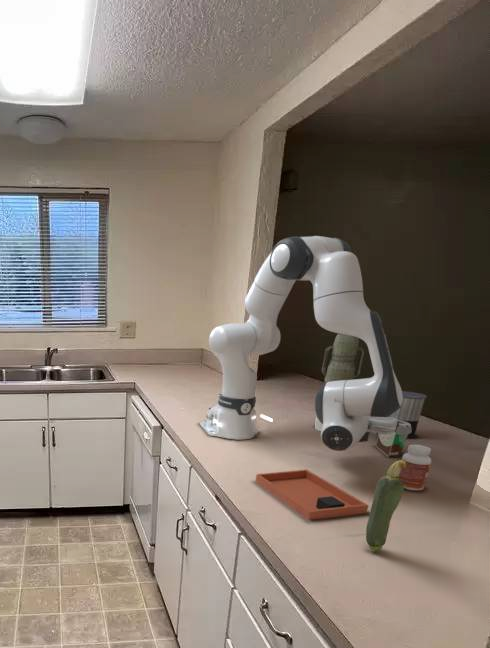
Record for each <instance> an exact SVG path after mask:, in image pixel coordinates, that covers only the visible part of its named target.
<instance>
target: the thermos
mask: <svg viewBox="0 0 490 648" xmlns="http://www.w3.org/2000/svg"><path fill="white" fill-rule="evenodd" d="M359 339H360V338H358V337H355V336H350V335H345V334H339V333H337V335H336V336H335V338H334V342H333V343H332V344H333V345H329V346H328V347H327V348H325V350H324V357H323V363H322V367H321V373H322V375H323V376H324V384H325V383H326V382H330V381H339V380H353V379H356V378H359V376H360V373H361V369H362V366H363V360H364V355H365V350H364V349H363V347H362V346H360V345H359V344H360V341H359ZM331 349H332V350H331ZM330 350H331V357H330V360H329V363H328V364H327V362H328V356H329V352H330ZM358 351H360V353H359V359H358V363H357V367H356V364H355V363H356V360H355V359H356V357H357V353H358Z"/></svg>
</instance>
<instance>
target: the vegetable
mask: <svg viewBox="0 0 490 648" xmlns="http://www.w3.org/2000/svg"><path fill="white" fill-rule="evenodd" d="M406 463H407V462H406V461H405V460H402V459H399V460H396V461H394V463H392V464H390V466H389V467H388V469H387V471H386V473H387V475H384V476H382V477H381V478H380V479H379V480H378V481H377V483H376V486H375V490H374V494H373V498H372V504H371V508H370V512H369V516H368V520H367V522H366V523H367V524H366V530H365V541H366V543H367V546H368V548H369V549H370V551H371V552H372V553H374V552H375V551H377V550H378V551H379V550H381V549H383V546H385V544H386V542H387V537H388V533H389V529H390V523H391V520H392V517H393V514H394V513H395V511H396V509H397V508H398V507H399V504H400V502H401V500H402V497H403V496H404V495H403V494H404V489H405V488H404V486H403V482H402V480H401V479H400V478H399V477H397V476H400V475H399V474H400V471H401V465H403V467H404V468H405V467H406Z"/></svg>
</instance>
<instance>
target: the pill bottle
mask: <svg viewBox="0 0 490 648" xmlns="http://www.w3.org/2000/svg"><path fill="white" fill-rule="evenodd" d="M431 452H432V448H431V447H428V446H425V445H421V444H409V445H408V447H407V452H405V453H404V454H402V457H401V460H405V461H406V462H407V463H406V467H405V468H404V467H403V465H401V471H400V474H399V475H400V476H397V477H399V478H400V479H401V480H402V482H403V486H404V489H405V490H409V491H423V490H424V489H425V486H426V482H427V479H428V475H429V472H430V467H431V465H432V458H431V457H430V455H431Z"/></svg>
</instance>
